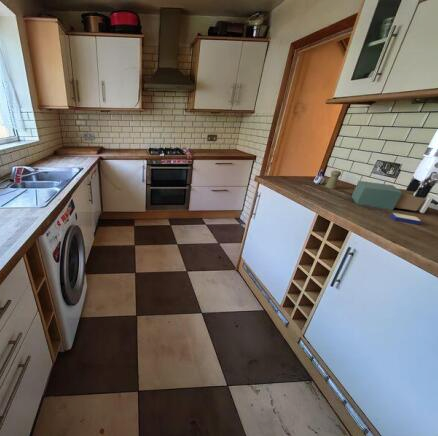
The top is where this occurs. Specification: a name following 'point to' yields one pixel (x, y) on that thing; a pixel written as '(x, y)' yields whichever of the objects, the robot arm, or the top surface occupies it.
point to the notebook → (405, 218)
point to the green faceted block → (376, 195)
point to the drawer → (413, 201)
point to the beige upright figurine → (333, 179)
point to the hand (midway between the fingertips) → (415, 194)
